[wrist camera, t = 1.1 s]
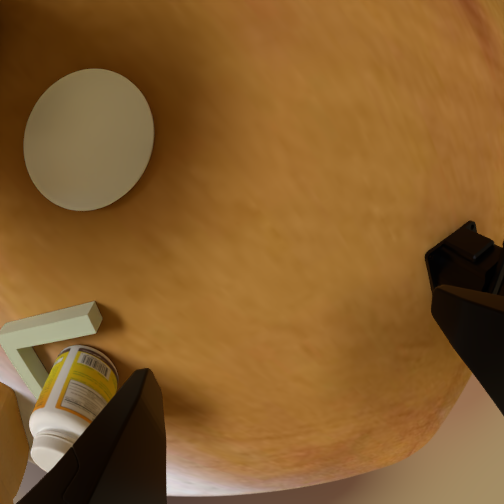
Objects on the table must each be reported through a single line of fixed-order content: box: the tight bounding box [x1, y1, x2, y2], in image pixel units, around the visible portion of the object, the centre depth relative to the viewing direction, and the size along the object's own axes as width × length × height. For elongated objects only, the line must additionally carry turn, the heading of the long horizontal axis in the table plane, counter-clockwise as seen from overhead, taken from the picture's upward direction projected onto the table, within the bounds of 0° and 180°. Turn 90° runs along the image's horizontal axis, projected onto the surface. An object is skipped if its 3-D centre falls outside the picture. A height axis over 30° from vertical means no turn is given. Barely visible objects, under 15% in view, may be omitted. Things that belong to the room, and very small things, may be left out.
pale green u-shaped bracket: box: [0, 301, 103, 400], centre depth 22 cm, size 10×12×2 cm
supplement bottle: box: [29, 345, 118, 473], centre depth 18 cm, size 6×6×10 cm
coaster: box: [23, 69, 155, 211], centre depth 17 cm, size 9×9×1 cm
